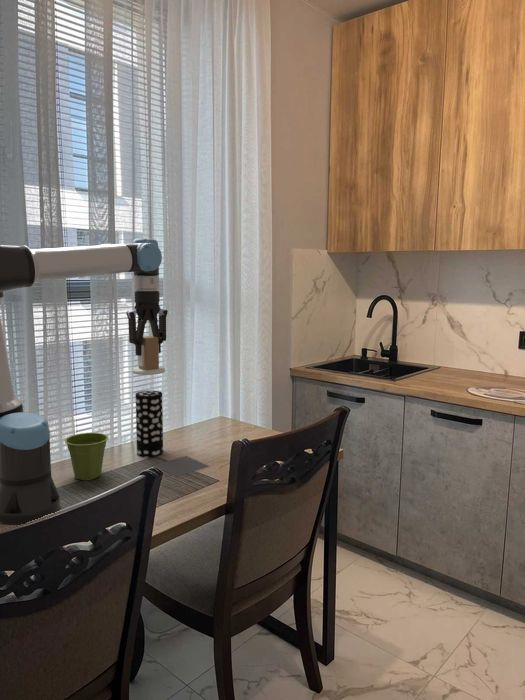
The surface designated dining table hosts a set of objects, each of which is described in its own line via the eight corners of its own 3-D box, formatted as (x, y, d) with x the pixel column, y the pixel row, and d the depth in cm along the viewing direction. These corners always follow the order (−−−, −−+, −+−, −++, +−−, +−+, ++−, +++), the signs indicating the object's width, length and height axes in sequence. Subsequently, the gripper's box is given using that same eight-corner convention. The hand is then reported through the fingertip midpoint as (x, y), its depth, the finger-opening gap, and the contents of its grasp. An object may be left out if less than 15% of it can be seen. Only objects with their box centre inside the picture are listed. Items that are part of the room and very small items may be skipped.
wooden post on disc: (143, 376, 161) (142, 340, 159) (126, 371, 168) (125, 336, 166) (171, 372, 167) (170, 337, 166) (153, 367, 175) (153, 334, 173)
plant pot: (116, 477, 153) (115, 439, 151) (76, 487, 145) (74, 447, 143) (99, 465, 161) (97, 429, 160) (59, 474, 154) (58, 437, 152)
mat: (176, 477, 153) (176, 476, 152) (153, 466, 161) (153, 465, 161) (209, 467, 161) (209, 466, 161) (186, 457, 169) (186, 455, 169)
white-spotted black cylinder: (166, 450, 175) (165, 391, 172) (159, 459, 167) (157, 397, 164) (141, 449, 176) (140, 390, 173) (133, 458, 168) (131, 396, 165)
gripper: (127, 291, 155) (129, 369, 159) (177, 290, 167) (178, 363, 171) (114, 290, 161) (117, 366, 164) (164, 289, 172) (165, 360, 176)
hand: (148, 364), depth 167 cm, fingers closed on wooden post on disc, 4 cm apart
